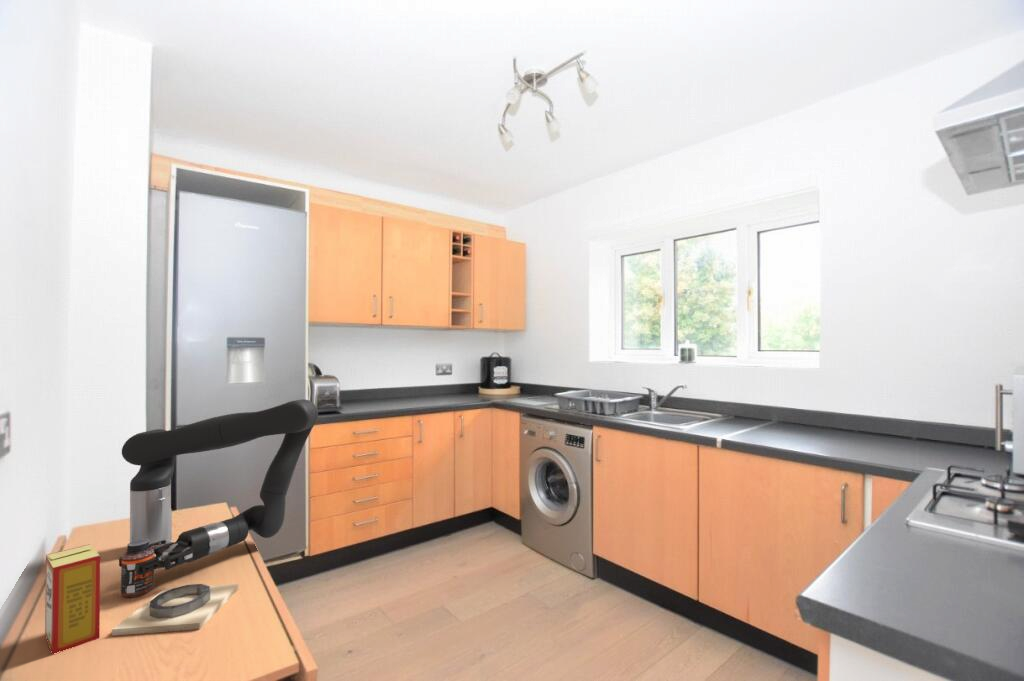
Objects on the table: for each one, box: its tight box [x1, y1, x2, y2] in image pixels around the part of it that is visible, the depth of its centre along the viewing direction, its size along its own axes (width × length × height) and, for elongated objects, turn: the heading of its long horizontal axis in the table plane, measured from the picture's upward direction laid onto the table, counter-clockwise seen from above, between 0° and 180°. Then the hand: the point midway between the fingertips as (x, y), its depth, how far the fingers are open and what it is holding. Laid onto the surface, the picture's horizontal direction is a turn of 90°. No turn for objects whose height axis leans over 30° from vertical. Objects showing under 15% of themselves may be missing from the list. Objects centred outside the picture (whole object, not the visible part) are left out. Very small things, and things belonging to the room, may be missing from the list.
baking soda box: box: [44, 544, 101, 655], centre depth 91 cm, size 10×6×16 cm
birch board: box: [111, 583, 239, 636], centre depth 100 cm, size 16×16×1 cm
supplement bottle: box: [120, 539, 155, 598], centre depth 108 cm, size 6×6×11 cm
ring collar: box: [150, 583, 211, 619], centre depth 100 cm, size 10×10×2 cm
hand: (128, 566), depth 107 cm, fingers open, 8 cm apart
